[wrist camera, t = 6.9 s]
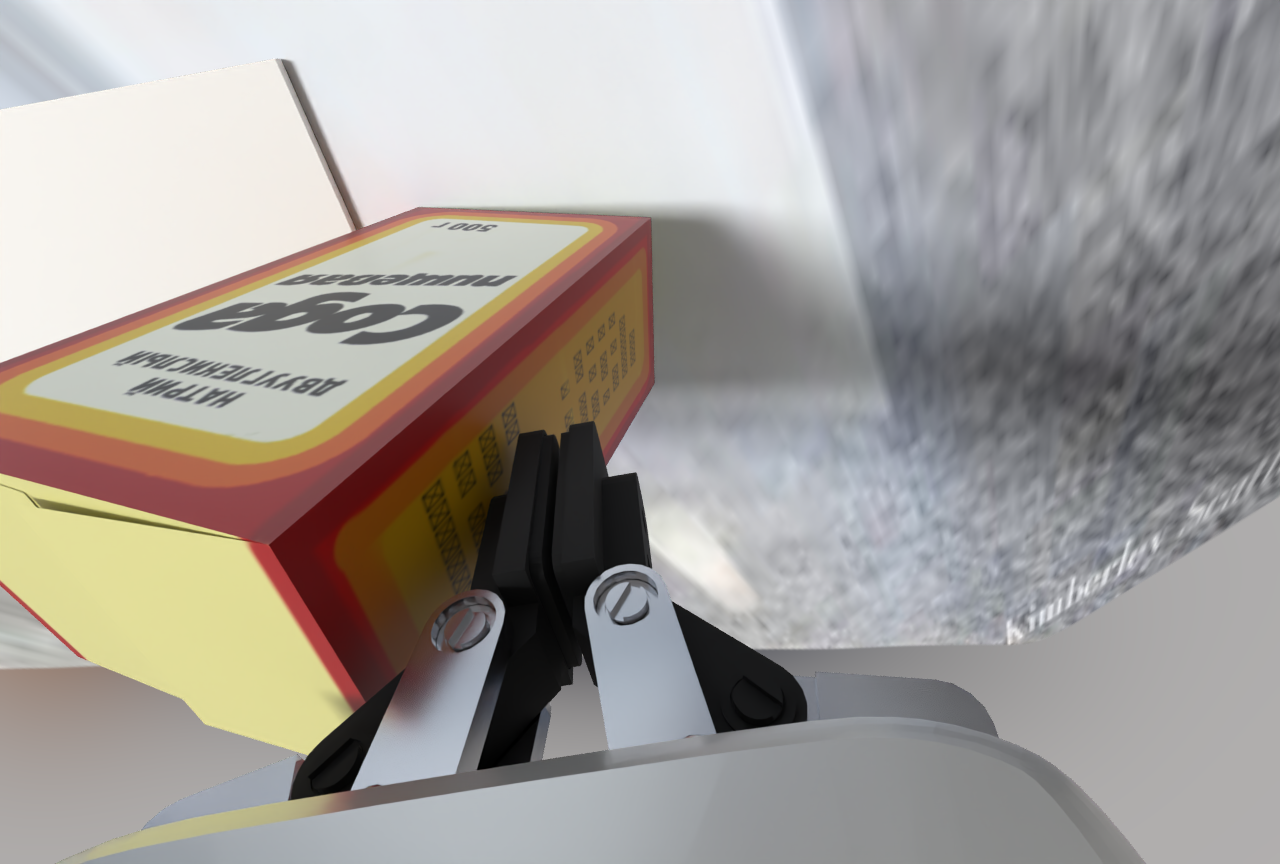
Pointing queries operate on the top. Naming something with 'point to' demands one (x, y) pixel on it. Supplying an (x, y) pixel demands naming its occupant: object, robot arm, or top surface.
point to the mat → (153, 196)
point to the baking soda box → (309, 452)
